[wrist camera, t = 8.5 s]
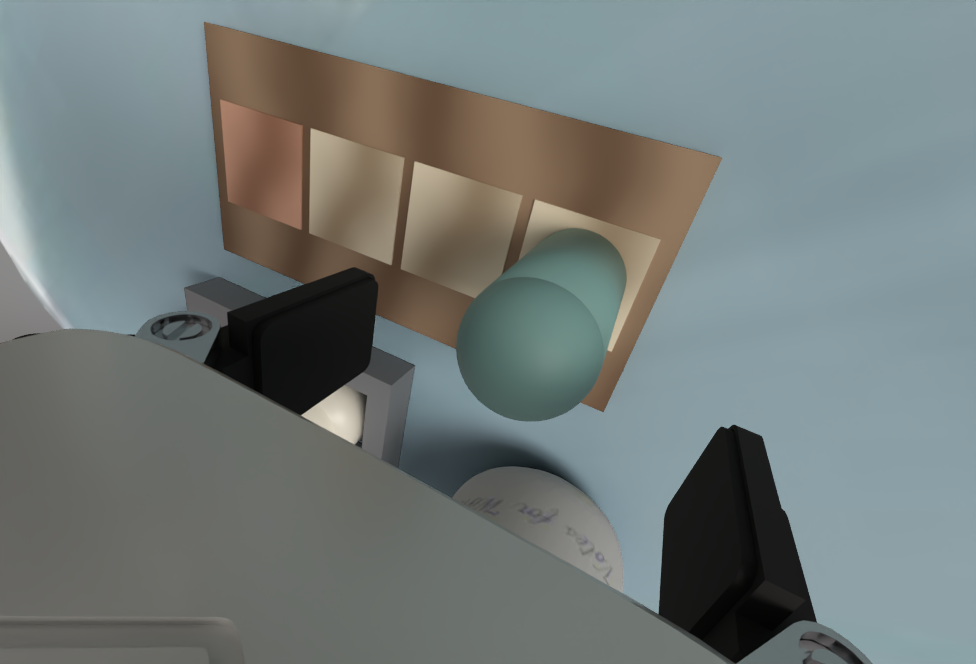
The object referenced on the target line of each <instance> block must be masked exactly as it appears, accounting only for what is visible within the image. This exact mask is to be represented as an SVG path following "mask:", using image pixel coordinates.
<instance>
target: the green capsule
mask: <svg viewBox="0 0 976 664" xmlns="http://www.w3.org/2000/svg"><path fill="white" fill-rule="evenodd" d="M626 281H627V274H626V268H625V264H624V261H623V259H622V257H621V255H620V253H619V252H618V250H617V249H616V248H615V246H614V245H613V244H612V243H611V242H610V241H608V240H607V239H606V238H604V237H603V236H601V235H599V234H597V233H595V232H593V231H589V230H585V229H576V228H574V229H565V230H561V231H558V232H555V233H553V234H551V235H549V236H548V237H546V238H545V239H544V240H542V241H541V242H540V243H539V244H538V245H536V246H535V247H534V248H533V249H532V250H531V251H529V252H528V253H527V254H526V255H525V256H523V257H522V258H521V259H520V260H519V261H517V262H516V263H515V264H514V265H513V266H512V267H510V268H509V269H508V270H507V271H506V272H504V273H503V274H502V275H501V276H500V277H499V278H497V279H496V280H495V281H494V282H493V283H491V284H490V285H489V286H488V287H487V288H485V289H484V290H483V291H482V292H481V293H480V294H479V295H478V296H477V297H476V298H475V299H474V300H473V301H472V303H471V304H470V305H469V307H468V309H467V310H466V312H465V314H464V316H463V318H462V320H461V323H460V326H459V330H458V335H457V342H456V351H457V360H458V365H459V368H460V372H461V374H462V377H463V379H464V381H465V383H466V385H467V386H468V388H469V389H470V391H471V392H472V393H473V395H474V396H475V397H476V398H477V399H478V400H479V401H480V402H481V403H482V404H484V405H485V406H486V407H488V408H489V409H490V410H492V411H494V412H496V413H497V414H500V415H502V416H504V417H507V418H510V419H514V420H518V421H542V420H547V419H551V418H554V417H557V416H559V415H562V414H564V413H566V412H568V411H569V410H571V409H572V408H574V407H575V406H576V405H578V404H579V403H580V402H581V401H582V400H583V399H584V398H585V397H586V396H587V395H588V394H589V392H590V391H591V390H592V388H593V387H594V385H595V383H596V381H597V379H598V377H599V374H600V372H601V369H602V366H603V362H604V359H605V356H606V352H607V349H608V346H609V342H610V339H611V335H612V332H613V329H614V325H615V322H616V319H617V315H618V312H619V309H620V305H621V302H622V299H623V295H624V292H625V288H626Z"/></svg>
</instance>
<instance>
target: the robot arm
mask: <svg viewBox="0 0 976 664" xmlns="http://www.w3.org/2000/svg"><path fill="white" fill-rule="evenodd" d="M377 297H378V283H377V281H375V277H374V275H373V274H371V273H368V272H366V271H363V270H361V269H359V268H356V267H352V268H349V269H346V270H344V271H341V272H338V273H335V274H332V275H330V276H327V277H324V278H321V279H318V280H316V281H313V282H310V283H307V284H304V285H302V286H299V287H296V288H293V289H291V290H288V291H285V292H282V293H279V294H277V295H274V296H271V297H268V298H265V299H263V300H260V301H257V302H254V303H251V304H249V305H246V306H243V307H240V308H238V309H235V310H232V311H229V312H227V320H228V325H226V326H224V327H221V325H220V322H219V321H218V319H217V318H215V317H213V316H212V315H209V314H206V313H202V312H194V311H179V312H171V313H166V314H162V315H159V316H156V317H154V318H152V319H150V320H148V321H147V322H146V323H145V324H144V325H143V326H142V327H141V328H140V330H139V331H138V332H137V333H136V335H125V334H119V333H113V332H108V331H100V330H88V329H63V330H56V331H51V332H46V333H38V334H28V335H24V336H20V337H17V338H15V339H13V340H10V341H6V342H3V343H0V664H872V663H871V661H870V660H869V659H868V658H867V657H866V656H865V655H864V654H863V653H862V652H861V651H860V650H859V649H857V648H856V647H855V646H854V645H853V644H852V643H851V642H850V641H848V640H847V639H846V638H844V637H843V636H841V635H840V634H838V633H837V632H835V631H834V630H832V629H830V628H828V627H826V626H823V625H821V624H819V623H817V621H816V617H815V614H814V610H813V607H812V603H811V599H810V596H809V592H808V588H807V585H806V581H805V578H804V574H803V570H802V567H801V563H800V560H799V556H798V552H797V549H796V545H795V542H794V538H793V534H792V531H791V527H790V523H789V520H788V517H787V515H786V513H785V511H784V510H782V509H781V505H780V501H779V497H778V494H777V490H776V486H775V482H774V479H773V475H772V471H771V467H770V463H769V460H768V456H767V452H766V448H765V445H764V441H763V438H762V436H760V435H758V434H755V433H753V432H750V431H748V430H746V429H743V428H741V427H738V426H736V425H732V426H731V427H729V429H727V428H724V427H720V428H719V429H718V430H717V432H716V433H715V435H714V436H713V438H712V439H711V441H710V442H709V444H708V445H707V447H706V448H705V450H704V451H703V453H702V455H701V456H700V458H699V459H698V461H697V462H696V464H695V465H694V467H693V468H692V470H691V471H690V473H689V474H688V476H687V477H686V479H685V480H684V482H683V484H682V485H681V487H680V488H679V490H678V491H677V493H676V494H675V496H674V497H673V499H672V500H671V502H670V503H669V505H668V507H667V510H666V513H665V517H664V531H663V549H662V566H661V584H660V601H659V614H657V613H655V612H654V611H652V610H650V609H649V608H647V607H645V606H644V605H642V604H640V603H639V602H637V601H635V600H634V599H632V598H630V597H629V596H627V595H625V594H623V593H621V592H620V591H618V590H616V589H614V588H612V587H610V586H609V585H607V584H605V583H603V582H601V581H600V580H598V579H596V578H594V577H593V576H591V575H589V574H587V573H586V572H584V571H582V570H580V569H579V568H577V567H575V566H573V565H572V564H570V563H568V562H566V561H564V560H563V559H561V558H559V557H557V556H555V555H554V554H552V553H550V552H548V551H546V550H545V549H543V548H541V547H539V546H537V545H536V544H534V543H532V542H530V541H528V540H527V539H525V538H523V537H521V536H519V535H518V534H516V533H514V532H512V531H510V530H509V529H507V528H505V527H503V526H501V525H500V524H498V523H496V522H494V521H492V520H491V519H489V518H487V517H485V516H483V515H482V514H480V513H478V512H476V511H474V510H473V509H471V508H469V507H467V506H465V505H464V504H462V503H460V502H458V501H456V500H455V499H453V498H451V497H449V496H447V495H445V494H444V493H442V492H440V491H438V490H436V489H435V488H433V487H431V486H429V485H427V484H425V483H424V482H422V481H420V480H418V479H416V478H415V477H413V476H411V475H409V474H407V473H405V472H404V471H402V470H400V469H398V468H396V467H395V466H393V465H391V464H389V463H387V462H385V461H384V460H382V459H380V458H378V457H376V456H374V455H373V454H371V453H369V452H367V451H365V450H363V449H362V448H360V447H358V446H356V445H354V444H353V443H351V442H349V441H347V440H345V439H343V438H342V437H340V436H338V435H336V434H334V433H332V432H330V431H329V430H327V429H325V428H323V427H321V426H319V425H317V424H316V423H314V422H312V421H310V420H308V419H306V418H305V417H303V416H301V415H302V414H304V413H305V412H307V411H308V410H309V409H311V408H312V407H314V406H315V405H317V404H318V403H320V402H321V401H322V400H324V399H325V398H327V397H328V396H330V395H331V394H332V393H334V392H335V391H337V390H338V389H340V388H341V387H343V386H344V385H345V384H347V383H348V382H350V381H351V380H353V379H354V378H355V377H357V376H358V375H360V374H361V373H363V372H364V371H365V370H366V369H367V367H368V366H369V364H370V360H371V352H372V343H373V333H374V324H375V315H376V306H377Z"/></svg>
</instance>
